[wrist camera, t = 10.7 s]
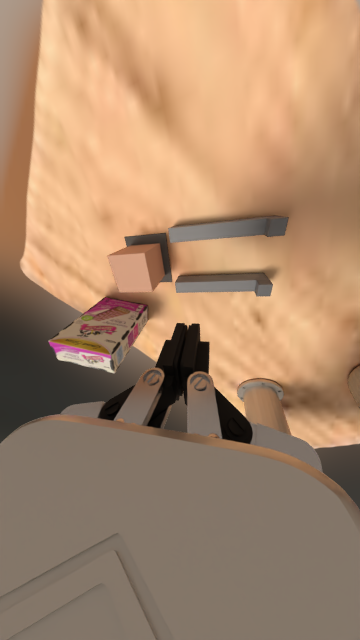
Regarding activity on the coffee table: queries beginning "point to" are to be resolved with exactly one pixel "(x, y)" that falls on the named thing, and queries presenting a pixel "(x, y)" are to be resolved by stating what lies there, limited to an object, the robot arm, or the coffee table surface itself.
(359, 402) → the canister
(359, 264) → the coffee table surface
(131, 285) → the block
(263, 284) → the grey u-shaped bracket
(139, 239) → the mat
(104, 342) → the candy bar box
